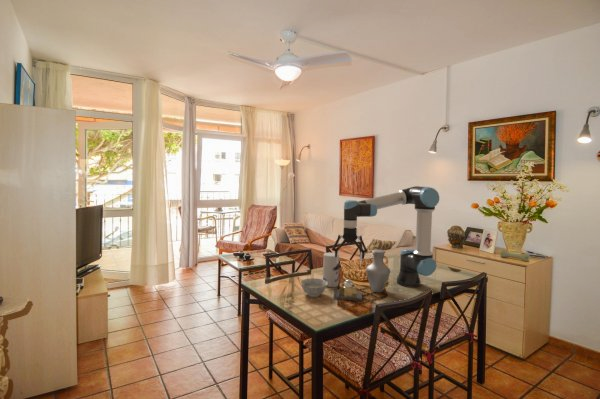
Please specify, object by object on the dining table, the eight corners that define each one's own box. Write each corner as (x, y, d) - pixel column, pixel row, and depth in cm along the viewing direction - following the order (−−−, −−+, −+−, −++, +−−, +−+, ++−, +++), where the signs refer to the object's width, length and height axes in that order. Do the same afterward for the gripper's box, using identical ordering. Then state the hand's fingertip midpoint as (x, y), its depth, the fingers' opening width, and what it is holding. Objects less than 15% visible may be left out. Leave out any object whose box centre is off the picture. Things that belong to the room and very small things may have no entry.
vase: (387, 296, 194) (389, 254, 192) (363, 292, 199) (365, 252, 197) (390, 288, 208) (391, 249, 206) (367, 285, 212) (368, 247, 211)
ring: (356, 291, 197) (356, 282, 197) (356, 297, 187) (357, 288, 187) (339, 289, 199) (339, 281, 198) (339, 295, 189) (339, 287, 188)
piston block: (361, 293, 198) (361, 277, 197) (362, 300, 186) (362, 284, 185) (334, 291, 200) (334, 276, 199) (333, 298, 188) (334, 282, 187)
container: (337, 287, 206) (338, 256, 205) (321, 286, 208) (322, 255, 207) (338, 282, 216) (339, 252, 215) (323, 281, 218) (324, 251, 216)
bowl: (306, 301, 183) (307, 288, 183) (295, 291, 198) (296, 279, 197) (331, 297, 190) (332, 285, 189) (319, 288, 204) (319, 276, 204)
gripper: (371, 226, 192) (370, 262, 193) (328, 225, 195) (328, 260, 197) (372, 229, 184) (371, 266, 186) (328, 227, 188) (327, 263, 189)
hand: (349, 263), depth 191 cm, fingers open, 13 cm apart
